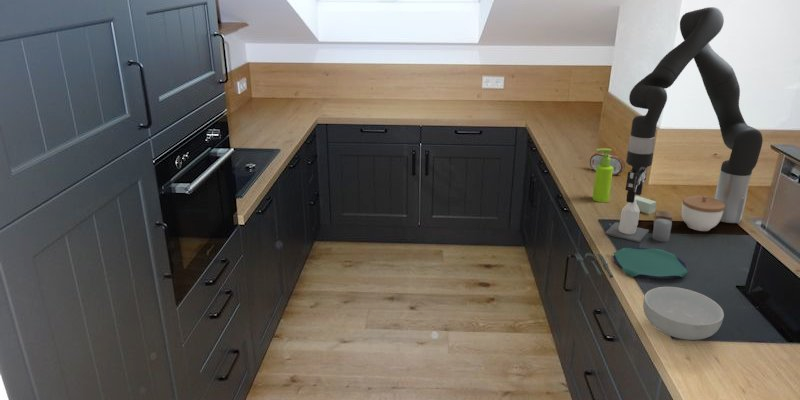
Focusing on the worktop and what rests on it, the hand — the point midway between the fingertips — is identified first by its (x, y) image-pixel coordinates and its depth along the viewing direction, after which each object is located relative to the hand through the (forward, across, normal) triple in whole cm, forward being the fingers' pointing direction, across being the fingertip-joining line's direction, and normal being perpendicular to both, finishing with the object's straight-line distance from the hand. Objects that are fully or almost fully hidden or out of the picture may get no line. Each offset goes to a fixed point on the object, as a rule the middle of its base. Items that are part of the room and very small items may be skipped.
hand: (633, 198), depth 184 cm
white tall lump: (+12, 0, +1) cm, 12 cm away
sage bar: (+13, +25, +2) cm, 28 cm away
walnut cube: (+13, +12, -8) cm, 19 cm away
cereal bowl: (+13, -51, -26) cm, 59 cm away
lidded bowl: (+13, +20, -18) cm, 30 cm away
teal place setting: (+13, -24, -7) cm, 28 cm away
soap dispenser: (+12, +26, +18) cm, 34 cm away
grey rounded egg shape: (+13, +2, -9) cm, 16 cm away
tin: (+13, +61, +27) cm, 68 cm away
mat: (+12, 0, +1) cm, 12 cm away
